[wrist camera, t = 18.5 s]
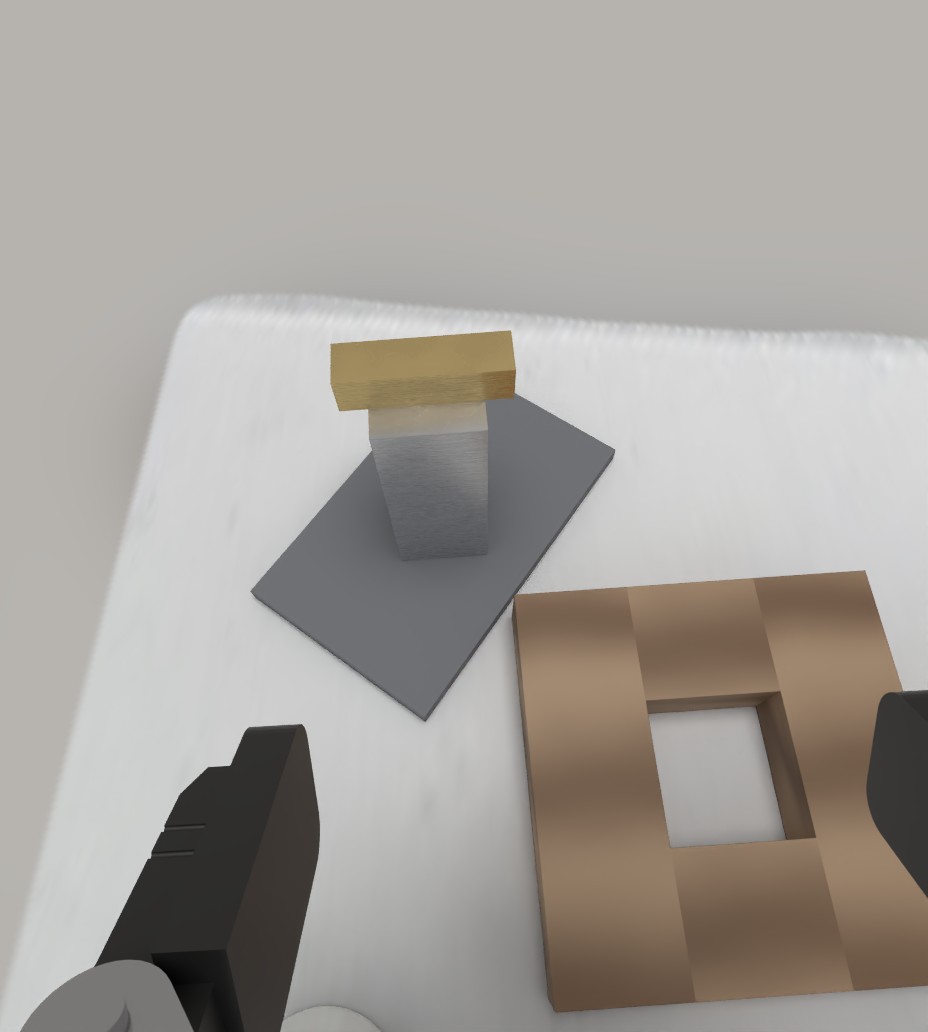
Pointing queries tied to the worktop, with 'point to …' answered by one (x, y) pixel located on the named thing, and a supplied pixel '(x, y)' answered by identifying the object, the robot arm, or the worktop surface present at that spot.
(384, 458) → the t key
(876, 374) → the worktop surface
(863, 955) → the socket block
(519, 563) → the slate mat
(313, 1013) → the beer glass
